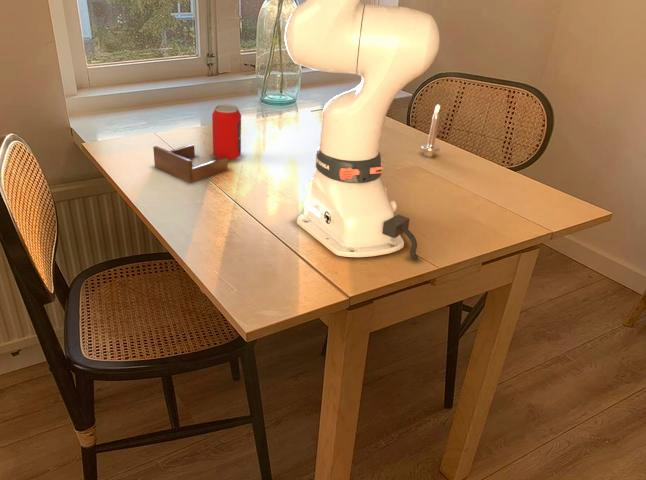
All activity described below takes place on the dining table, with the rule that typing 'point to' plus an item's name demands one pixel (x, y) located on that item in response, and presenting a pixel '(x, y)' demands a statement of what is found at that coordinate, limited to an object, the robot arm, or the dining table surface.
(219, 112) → the beverage can
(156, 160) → the bay
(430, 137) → the screw
